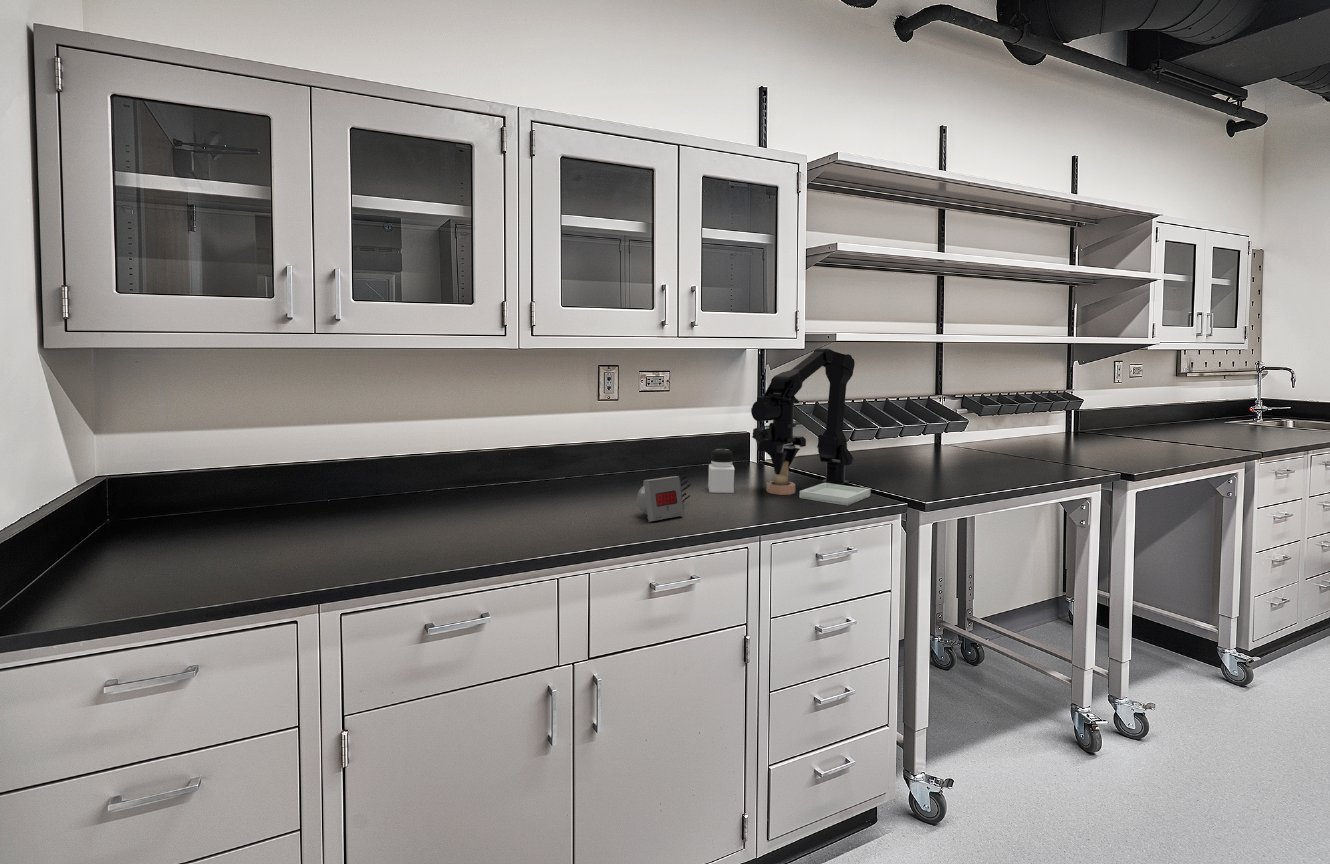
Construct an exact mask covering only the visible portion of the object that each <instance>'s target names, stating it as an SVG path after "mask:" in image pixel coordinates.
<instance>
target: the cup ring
mask: <svg viewBox="0 0 1330 864" xmlns="http://www.w3.org/2000/svg"><path fill="white" fill-rule="evenodd" d="M765 488H766V489H765V490H766V492H767V493H769V494H773V495H777V496H778V495H780V496H783V495H784V496H785V495H787V496H789V495H790V496H791V495H793V494H796V483H794V482H793V481H788V485H774V480H770V481H767V482H766V487H765Z"/></svg>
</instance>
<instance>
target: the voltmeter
mask: <svg viewBox="0 0 1330 864" xmlns="http://www.w3.org/2000/svg"><path fill="white" fill-rule="evenodd" d="M691 470H692V466H689V468H687V469H685V470H683V471H682V472H679V473H678V474H679V475H678V476H676V475H674V476H668V477H660V478H651V479H644V480H643V483H642V484H643V486H641V487H640V489H639V490H638V493H637V498H636V501H637V507H638V509H639V510H640V511H641V512H642V514H644V515H646V516H647V520H648V523H651V522H657V521H662V520H666V519H673V518H678V517H683V516H685V510H684V502H685V501H687V499H689V498H690V497H691V494H688V496H687V492H684V491H685V490H687V489H688V488H689V487H691V485H692V484H691V483H688V482H689V481H688V479H686V478H687V475H685V476H684V474H686V473H688V472H689V471H691ZM681 476H683V477H681ZM680 477H681V478H680ZM684 480H685V481H684ZM682 481H684V482H682ZM681 482H682V483H681ZM687 483H688V484H687ZM686 484H687V485H686ZM685 485H686V486H685ZM683 486H685V487H683ZM682 487H683V488H682ZM683 492H684V493H683ZM685 496H686V497H685ZM683 497H684V499H683Z"/></svg>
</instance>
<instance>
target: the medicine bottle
mask: <svg viewBox="0 0 1330 864" xmlns="http://www.w3.org/2000/svg"><path fill="white" fill-rule="evenodd" d="M733 453H734V452H733V451H732V450H730V449H726V448H716V449H713V450H712V451H711V460H710V461H711V462H710V464H708V488H707V489H708V492H709V493H711V494H712V493H713V494H714V493H715V494H721V493H722V494H734V493H735V485H736V482H735V479H736V477H735V476H736V470H735V469H736V468H735V466H734V465H733Z"/></svg>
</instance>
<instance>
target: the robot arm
mask: <svg viewBox="0 0 1330 864" xmlns="http://www.w3.org/2000/svg"><path fill="white" fill-rule="evenodd" d="M855 363H856V361H855V359H854V358H853V356H852V355H851V354H848V353H847V354H845V353H841V352H838V351H834V350H832V349H830V348H822V347H821V348H816V349H814V350H813V352H812V353H811V354H809V355H808V356H807V357H806V358H804V359H803V360H802V361H800V363H797V365H795V366H794V367H792V368H791V369H789V370H786V371H783V372H780V373H778V374H776V375H774V376H773V377H772V378H771V379H770V383H769V385H768V387H767V389H766V390H765V392H764V394H763V396H757V398H756V401H755V402H754V403H753V404H752V405H751V409H750V412H751V416H752V418H753V419H754V421H756V422H767V421H772V422H770V423H769V424H768V428H764V429H763V428H762V427H759V426H758V427H755V428H753V430H752V436H751V437H752V438H753V439H754V440H755V442H756V444H757V445H756V446H757V447H756V449H757V451H759V452H765V453H766V454H767V455H768V456H769V457H770V459H771V462H772V465H773V469H774V470H775V473H776V474H778V475H779V474H780V472H781V469H782V466H783V463H784V461H788V462H789V465H788V470H789V469H790V467H791V465H792V463H793V461H794V459H795V458H796V456H797V454H798V452H799V451H800V450H801V448H803V447H806V445H807V439H806V438H805V437H804V436H803V435H802V436H801V435H794V428H795V427H797V423H796V422H794V412H795V411H794V410H795V404H799V403H800V400H799V399H797V398H796V395H797V393H799V391H800V390H801V389H802V388H803V385H804V384H803V383H804V382H805V381H806V380H807V379H809V377H811V376H812V375H813V374H815V373H816V372H817V371H818V370H820V369H821V368H822V367H823V368H825V375H826V378H827V380H828V383H829V387H828V388H829V389H828V401H827V413H826V425H825V430H824V432H823V433H822V434H819V435H818V437H817V445H816V448H817V451H818V455H819V459H820V460H819V461H820V462H821V463H826V466H825V467H826V468H825V479H822V480H821V481H820V482H821V483H830V484H837V485H844V484H847V483H850V480H848V479H847V480H846V478H845V477H846V466H850V465H852V463H853V460H854V457H853V455H852V454H851V452H850V450H848V439H847V437H846V435H845V433H844V430H843V428H844V418H845V417H844V416H845V405H846V394H847V392H846V391H847V385H848V382H849V381H850V379H851V378H852V377H853V374H854V370H855ZM796 446H799V447H800V448H798V447H796ZM774 470H773V471H774Z"/></svg>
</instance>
